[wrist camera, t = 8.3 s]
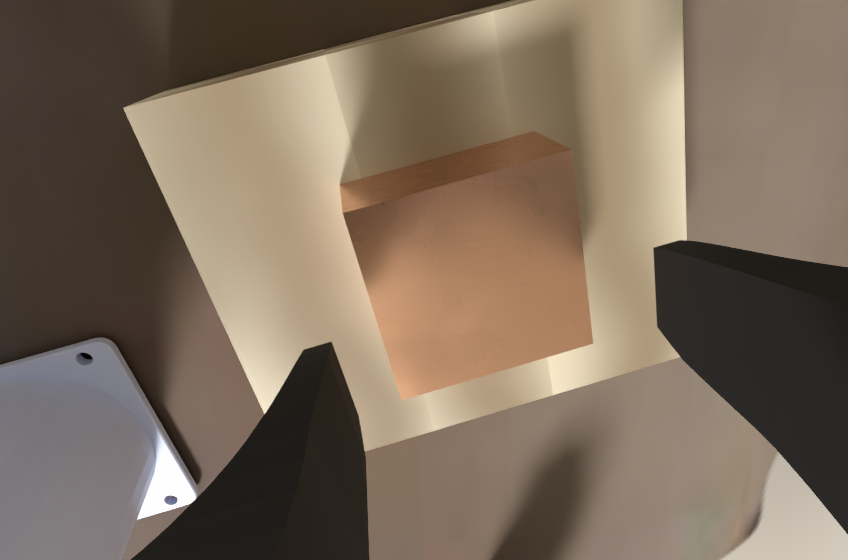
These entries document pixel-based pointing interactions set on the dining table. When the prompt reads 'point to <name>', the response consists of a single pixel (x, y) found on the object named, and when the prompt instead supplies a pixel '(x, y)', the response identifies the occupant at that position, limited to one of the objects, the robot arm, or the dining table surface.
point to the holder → (413, 143)
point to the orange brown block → (472, 260)
